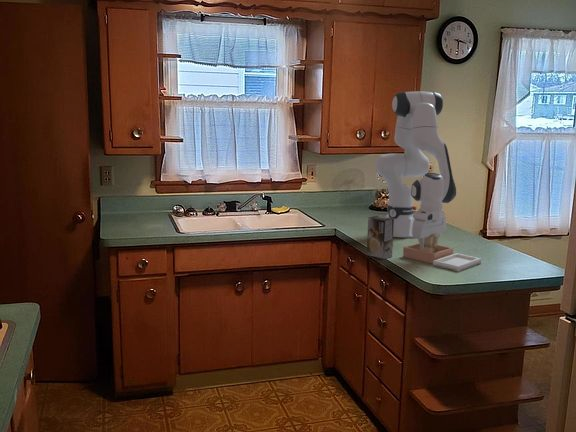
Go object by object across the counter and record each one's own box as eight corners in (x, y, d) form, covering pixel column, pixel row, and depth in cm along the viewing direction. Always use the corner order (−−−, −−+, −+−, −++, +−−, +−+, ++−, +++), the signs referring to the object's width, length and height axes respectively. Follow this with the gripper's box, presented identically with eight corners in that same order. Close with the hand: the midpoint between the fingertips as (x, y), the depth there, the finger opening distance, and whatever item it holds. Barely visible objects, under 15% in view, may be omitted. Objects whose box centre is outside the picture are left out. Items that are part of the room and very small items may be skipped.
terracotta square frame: (422, 250, 256) (422, 241, 256) (452, 257, 246) (453, 248, 246) (403, 256, 246) (403, 247, 246) (433, 263, 236) (434, 253, 235)
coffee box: (392, 256, 246) (395, 218, 243) (383, 259, 241) (385, 220, 238) (375, 252, 252) (377, 215, 249) (365, 254, 248) (367, 217, 245)
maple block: (425, 254, 250) (427, 231, 248) (436, 257, 246) (438, 233, 244) (419, 256, 246) (420, 233, 244) (429, 259, 243) (431, 235, 241)
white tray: (456, 257, 246) (456, 253, 246) (480, 263, 238) (481, 258, 238) (432, 265, 234) (433, 260, 233) (458, 271, 226) (458, 266, 226)
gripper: (437, 209, 252) (435, 240, 255) (410, 215, 238) (408, 248, 241) (450, 211, 248) (448, 243, 251) (424, 217, 234) (421, 251, 236)
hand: (428, 246), depth 245 cm, fingers open, 8 cm apart
